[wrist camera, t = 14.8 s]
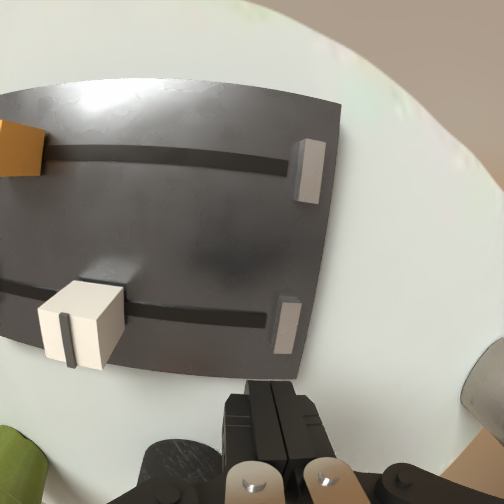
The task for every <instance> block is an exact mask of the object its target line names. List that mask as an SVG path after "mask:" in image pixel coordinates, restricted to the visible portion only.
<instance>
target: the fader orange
mask: <svg viewBox="0 0 504 504" xmlns="http://www.w3.org/2000/svg"><path fill="white" fill-rule="evenodd" d="M45 131H46V130H43V129H39V128H35V127H31V126H27V125H23V124H19V123H15V122H10V121H6V120H0V177H10V176H40V171H41V161H42V152H43V144H44V137H45Z"/></svg>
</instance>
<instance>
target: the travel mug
mask: <svg viewBox="0 0 504 504" xmlns="http://www.w3.org/2000/svg"><path fill="white" fill-rule="evenodd" d="M222 472H223V469H222V457H221V455H220V454H219V453H218V452H217V451H215V450H214V449H212V448H211V447H209V446H207V445H204V444H201V443H198V442H194V441H190V440H182V439H170V440H163V441H159V442H156V443H154V444H152V445H151V446H150V447H149V448H148V449H147V450H146V452H145V455H144V458H143V462H142V466H141V470H140V474H139V478H138V483H137V486H138V485H140V484H141V483H143V482H144V481H146V480H148V479H150V478H152V477H155V476H162V475H167V476H174V477H178V478H180V479H183V480H185V481H186V482H188V483H189V484H195V483H201V482H206V481H209V480H212V479H214V478H216V477H217V476H219V475H220V474H221V473H222Z"/></svg>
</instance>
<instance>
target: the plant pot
mask: <svg viewBox="0 0 504 504" xmlns="http://www.w3.org/2000/svg"><path fill="white" fill-rule="evenodd" d="M47 470H48V461H47V459H46V457H45V456H44V454H43V453H42V452H41V450H40V449H39V448H38V447H37V446H36V445H35V444H34V443H33V442H32V441H30V440H28V439H26V438H24V437H23V436H22V435H21V434H20V433H19V432H18V431H16V430H15V429H13V428H10V427H8V426H4V425H0V504H41V501H42V495H43V490H44V485H45V480H46V475H47Z"/></svg>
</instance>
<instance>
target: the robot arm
mask: <svg viewBox="0 0 504 504" xmlns="http://www.w3.org/2000/svg"><path fill="white" fill-rule="evenodd" d="M461 401H462V404H463V405H464V406H465V407H466V408H467V409H468V410H469V411H470V412H471V413H472V414H473V415H474V416H475V417H476V418H477V419H478V420H479V421H480V422H481V424H482V425H483V426H484V427H485V428H486V429H487V430H488V431H489V432H490V433H491V434H492V435H493V436H494V437H495V438H496V439H497V440H498V441H499V442H500V443H501V444H502V445H503V447H504V338H502V339H500V340H498V341H497V342H495V343H494V344H493V345H492V346H491V347H490V348H489V349H488V350H487V351H486V352H485V353H484V354H483V355H482V357H481V358H480V359H479V361H478V362H477V363H476V365H475V366H474V368H473V370H472V371H471V373H470V375H469V377H468V378H467V380H466V383H465V385H464V387H463V391H462V395H461ZM222 469H223V472H222V473H221V474H220V475H219V476H217V477H216V478H214V479H212V480H209V481H206V482H201V483H195V484H189V483H188V482H186V481H185V480H183V479H180V478H178V477H174V476H167V475H162V476H155V477H152V478H150V479H148V480H146V481H144V482H143V483H141V484H140V485H138V486H136V487H135V488H133V489H131V490H130V491H128V492H126V493H125V494H123V495H121V496H120V497H118V498H116V499H114V500H112V501H111V502H109V503H107V504H504V499H502V498H498V497H495V496H492V495H488V494H485V493H482V492H479V491H476V490H474V489H471V488H468V487H465V486H462V485H460V484H457V483H454V482H451V481H449V480H447V479H444V478H442V477H439V476H437V475H435V474H432V473H430V472H427V471H425V470H423V469H421V468H418V467H416V466H414V465H411V464H408V463H396V464H393V465H391V466H389V467H388V468H387V469H386V470H385V471H384V472H383V474H376V473H361V472H356V471H353V470H352V469H351V467H350V466H349V465H348V464H346V463H345V462H343V461H342V460H339V459H337V458H336V456H335V453H334V451H333V449H332V446H331V444H330V441H329V439H328V436H327V434H326V431H325V429H324V426H322V421H321V419H320V417H319V414H318V411H317V409H316V407H315V404H314V403H313V402H312V401H311V400H310V399H309V398H308V397H307V396H305V395H296V394H295V391H294V388H293V385H292V383H291V381H255V380H247V381H246V385H245V391H244V394H231V395H230V396H229V398H228V399H227V401H226V402H225V407H224V417H223V426H222Z"/></svg>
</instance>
